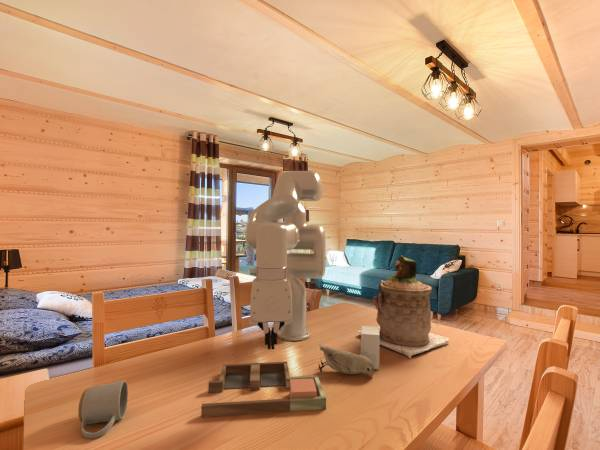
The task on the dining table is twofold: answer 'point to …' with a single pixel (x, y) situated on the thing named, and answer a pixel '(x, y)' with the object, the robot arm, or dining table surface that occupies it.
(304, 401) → the trap run
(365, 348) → the small box
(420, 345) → the cookie jar
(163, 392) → the dining table surface
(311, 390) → the block
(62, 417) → the dining table surface
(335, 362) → the decorative bird
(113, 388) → the ceramic mug
